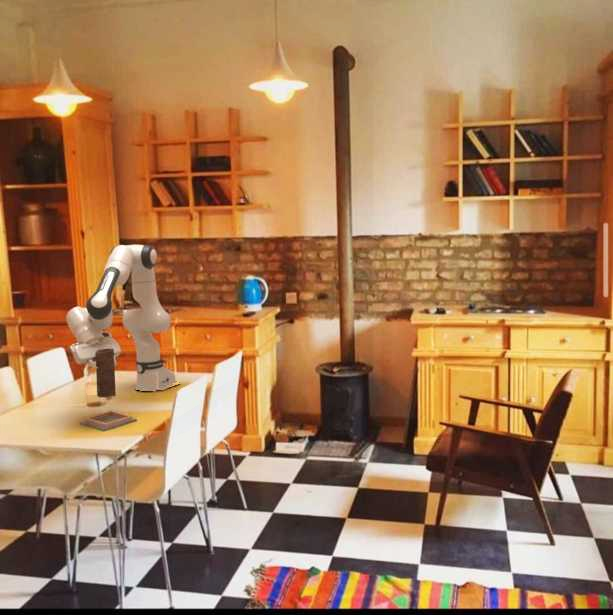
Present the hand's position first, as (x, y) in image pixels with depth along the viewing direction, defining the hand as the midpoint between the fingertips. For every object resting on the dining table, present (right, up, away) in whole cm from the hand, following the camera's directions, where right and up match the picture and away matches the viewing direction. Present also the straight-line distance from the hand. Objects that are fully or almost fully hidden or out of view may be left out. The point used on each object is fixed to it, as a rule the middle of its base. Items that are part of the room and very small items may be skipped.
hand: (106, 367), depth 279 cm
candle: (-1, -13, +2) cm, 13 cm away
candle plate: (0, -23, +4) cm, 23 cm away
